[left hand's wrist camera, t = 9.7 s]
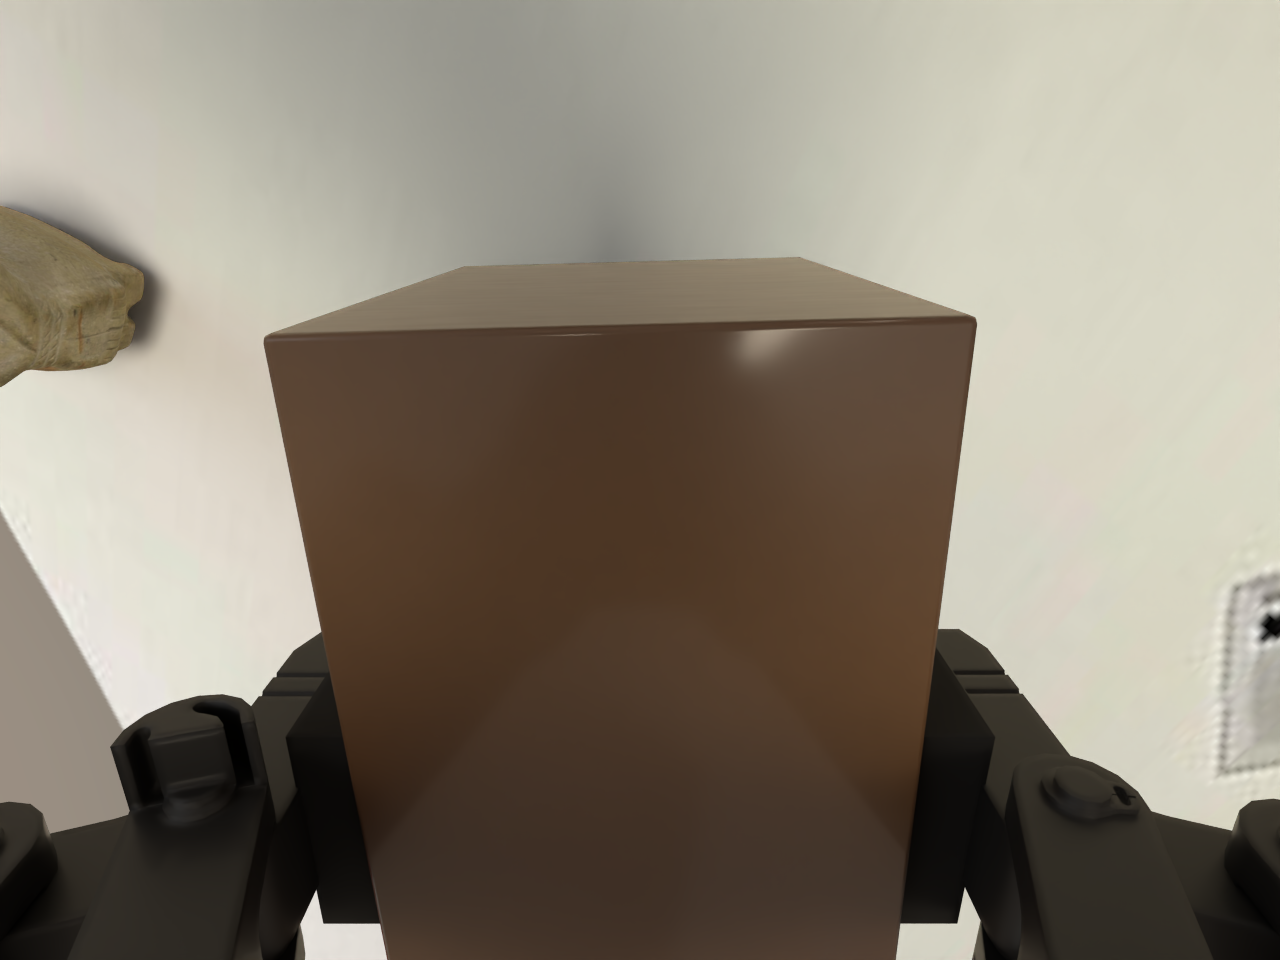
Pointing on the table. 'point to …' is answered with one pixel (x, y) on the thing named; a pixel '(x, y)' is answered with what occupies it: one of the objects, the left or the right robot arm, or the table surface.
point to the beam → (630, 599)
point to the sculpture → (59, 300)
